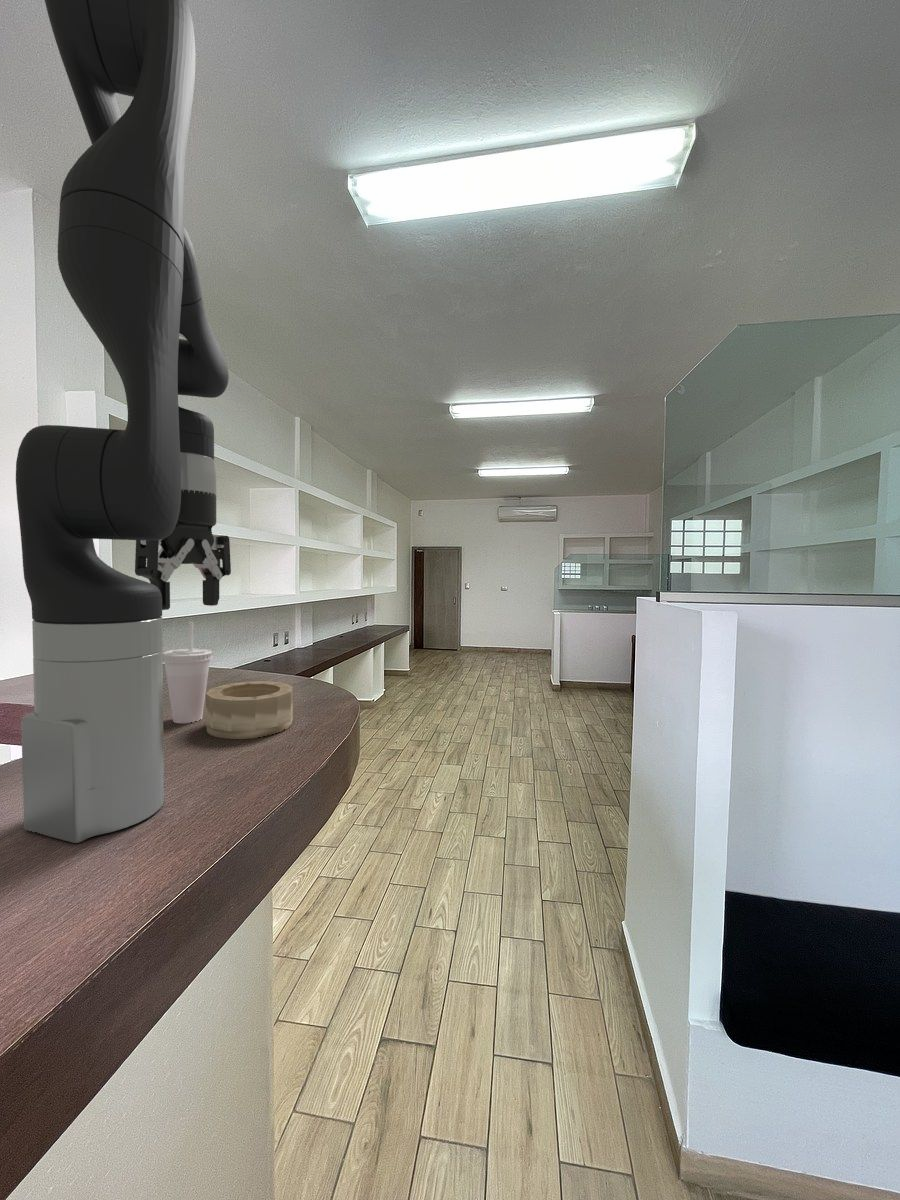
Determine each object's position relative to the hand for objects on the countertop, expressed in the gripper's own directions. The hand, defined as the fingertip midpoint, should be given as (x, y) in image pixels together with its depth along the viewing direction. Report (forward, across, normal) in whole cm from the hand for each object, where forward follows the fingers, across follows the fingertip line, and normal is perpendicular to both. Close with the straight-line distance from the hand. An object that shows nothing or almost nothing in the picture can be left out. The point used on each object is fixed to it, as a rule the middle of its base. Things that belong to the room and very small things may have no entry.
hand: (187, 607), depth 72 cm
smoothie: (+16, 0, 0) cm, 16 cm away
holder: (+16, +1, -10) cm, 19 cm away
